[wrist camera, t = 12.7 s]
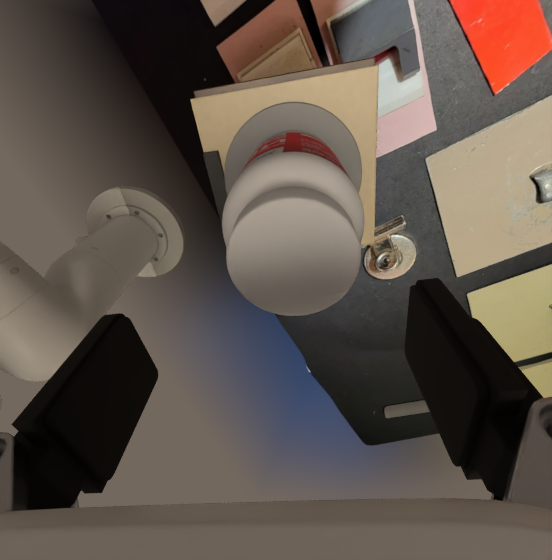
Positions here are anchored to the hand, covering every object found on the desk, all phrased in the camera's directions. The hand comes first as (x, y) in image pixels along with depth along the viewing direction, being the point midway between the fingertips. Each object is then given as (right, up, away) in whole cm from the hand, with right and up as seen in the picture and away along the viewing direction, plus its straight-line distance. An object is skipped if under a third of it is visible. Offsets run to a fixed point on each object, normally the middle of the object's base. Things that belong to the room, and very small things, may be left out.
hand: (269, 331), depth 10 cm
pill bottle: (+1, +8, +10) cm, 13 cm away
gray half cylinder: (+39, -31, +69) cm, 85 cm away
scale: (+1, +10, +13) cm, 16 cm away
